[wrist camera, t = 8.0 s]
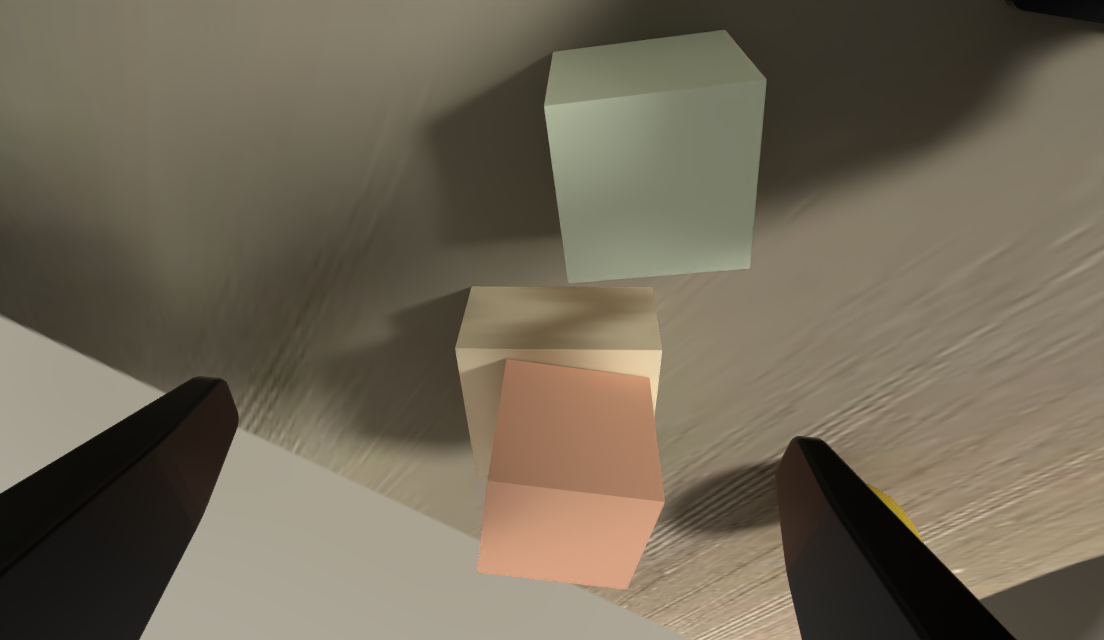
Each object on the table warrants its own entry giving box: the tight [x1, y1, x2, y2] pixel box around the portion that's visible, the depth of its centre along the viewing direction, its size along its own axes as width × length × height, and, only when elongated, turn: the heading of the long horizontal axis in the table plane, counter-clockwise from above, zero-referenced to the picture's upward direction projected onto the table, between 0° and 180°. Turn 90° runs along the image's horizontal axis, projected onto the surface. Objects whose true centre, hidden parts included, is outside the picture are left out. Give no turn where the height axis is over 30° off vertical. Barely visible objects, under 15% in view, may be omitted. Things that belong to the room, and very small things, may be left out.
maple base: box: [455, 286, 662, 477], centre depth 23 cm, size 7×7×4 cm
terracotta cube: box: [477, 359, 665, 589], centre depth 20 cm, size 5×5×5 cm
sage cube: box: [544, 30, 767, 283], centre depth 17 cm, size 5×5×5 cm
